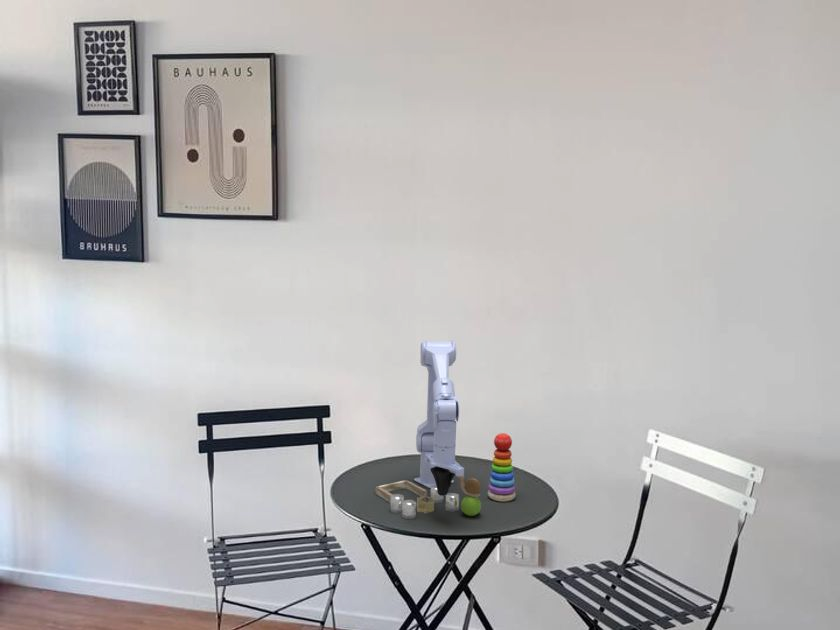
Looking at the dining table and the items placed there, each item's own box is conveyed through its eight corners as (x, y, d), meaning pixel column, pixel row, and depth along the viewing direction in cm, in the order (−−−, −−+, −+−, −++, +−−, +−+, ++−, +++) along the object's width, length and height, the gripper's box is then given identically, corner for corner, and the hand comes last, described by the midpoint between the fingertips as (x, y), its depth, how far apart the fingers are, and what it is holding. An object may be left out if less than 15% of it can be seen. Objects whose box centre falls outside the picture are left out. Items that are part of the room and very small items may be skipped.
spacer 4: (453, 505, 223) (453, 491, 223) (461, 510, 220) (461, 496, 220) (442, 508, 221) (443, 494, 221) (450, 512, 218) (451, 498, 218)
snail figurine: (461, 509, 221) (462, 467, 219) (483, 513, 219) (485, 470, 217) (454, 516, 216) (455, 473, 214) (476, 520, 214) (478, 477, 212)
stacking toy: (518, 494, 233) (521, 432, 230) (511, 504, 225) (514, 439, 223) (492, 490, 236) (495, 428, 233) (484, 499, 228) (486, 435, 225)
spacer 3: (438, 497, 229) (438, 484, 228) (445, 501, 226) (446, 488, 225) (427, 500, 227) (428, 486, 226) (435, 504, 224) (435, 490, 223)
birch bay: (406, 486, 237) (406, 479, 236) (426, 497, 229) (426, 490, 228) (374, 493, 230) (374, 486, 230) (394, 505, 222) (394, 498, 222)
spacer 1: (398, 507, 221) (399, 493, 220) (406, 511, 218) (406, 497, 218) (387, 509, 219) (388, 495, 218) (395, 514, 216) (395, 500, 216)
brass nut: (428, 505, 223) (428, 494, 223) (437, 510, 220) (437, 500, 219) (413, 509, 220) (413, 498, 220) (422, 514, 217) (422, 503, 216)
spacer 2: (410, 512, 217) (410, 498, 217) (418, 517, 214) (418, 503, 214) (399, 515, 215) (399, 501, 215) (407, 520, 212) (407, 505, 212)
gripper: (416, 439, 214) (414, 488, 216) (449, 454, 203) (447, 506, 205) (437, 435, 218) (435, 483, 220) (471, 450, 207) (469, 500, 209)
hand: (442, 494), depth 213 cm, fingers closed
